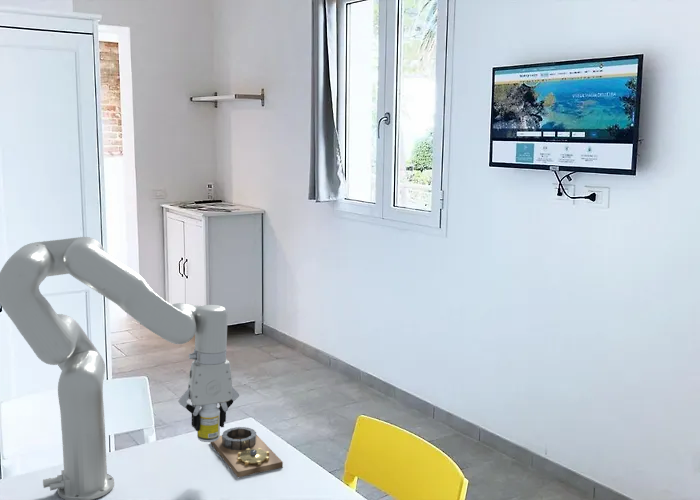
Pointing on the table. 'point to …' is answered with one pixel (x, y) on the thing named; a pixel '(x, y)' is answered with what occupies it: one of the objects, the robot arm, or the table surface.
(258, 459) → the brass gear
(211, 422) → the supplement bottle
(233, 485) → the table surface
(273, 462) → the gear board
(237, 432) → the socket ring
